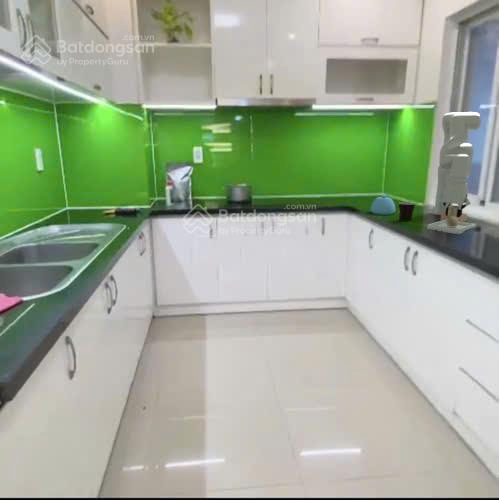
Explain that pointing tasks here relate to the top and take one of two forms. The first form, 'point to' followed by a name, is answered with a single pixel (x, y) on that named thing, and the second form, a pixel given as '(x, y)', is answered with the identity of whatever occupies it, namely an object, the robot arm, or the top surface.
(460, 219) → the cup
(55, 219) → the top surface
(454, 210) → the beige vase
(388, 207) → the sugar bowl
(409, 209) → the coffee mug
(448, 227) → the tray
